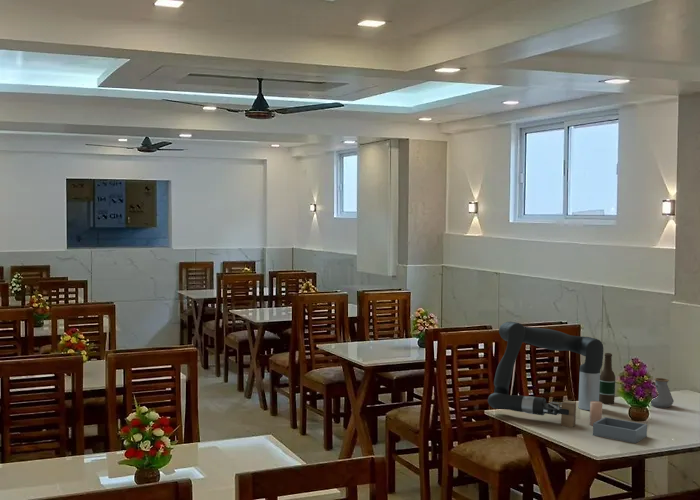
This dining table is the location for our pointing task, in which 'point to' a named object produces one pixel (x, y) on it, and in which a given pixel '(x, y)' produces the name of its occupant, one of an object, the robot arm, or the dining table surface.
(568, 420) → the walnut block
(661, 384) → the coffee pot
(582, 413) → the dining table surface
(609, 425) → the blue-gray tote
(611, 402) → the beer bottle
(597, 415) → the terracotta cylinder
